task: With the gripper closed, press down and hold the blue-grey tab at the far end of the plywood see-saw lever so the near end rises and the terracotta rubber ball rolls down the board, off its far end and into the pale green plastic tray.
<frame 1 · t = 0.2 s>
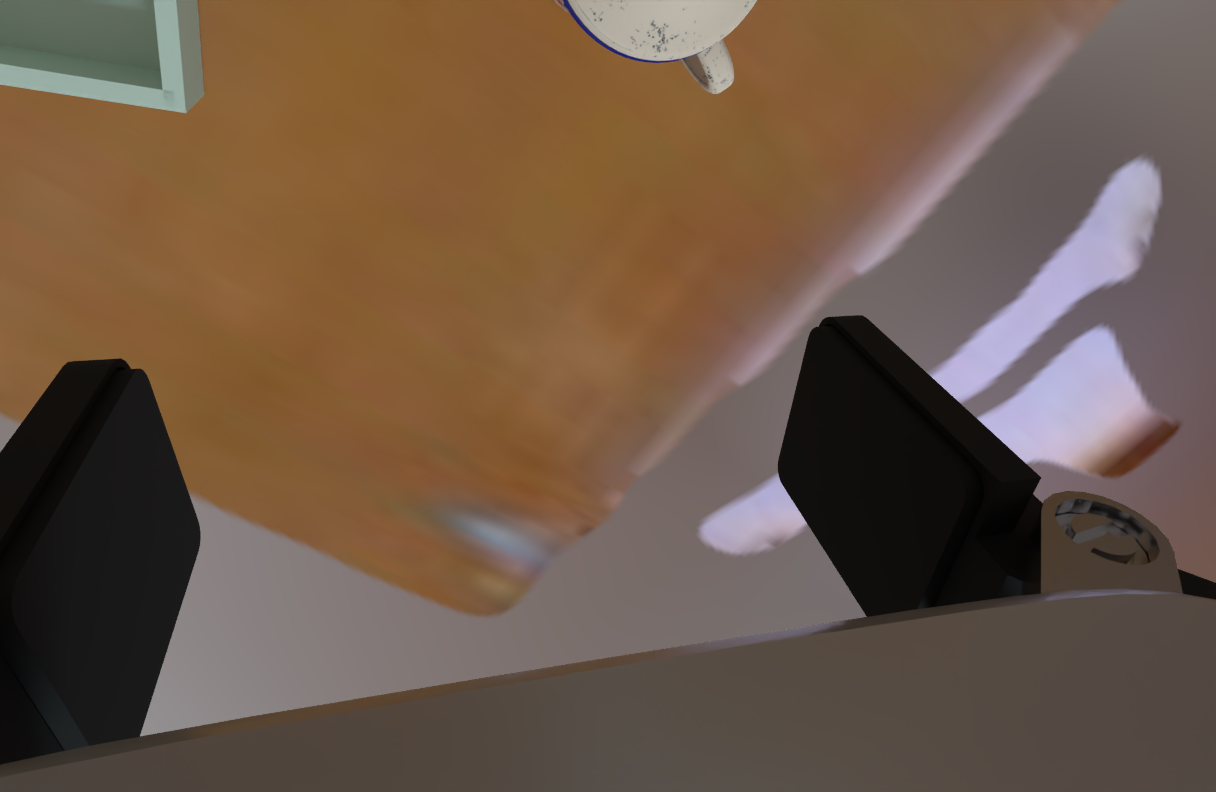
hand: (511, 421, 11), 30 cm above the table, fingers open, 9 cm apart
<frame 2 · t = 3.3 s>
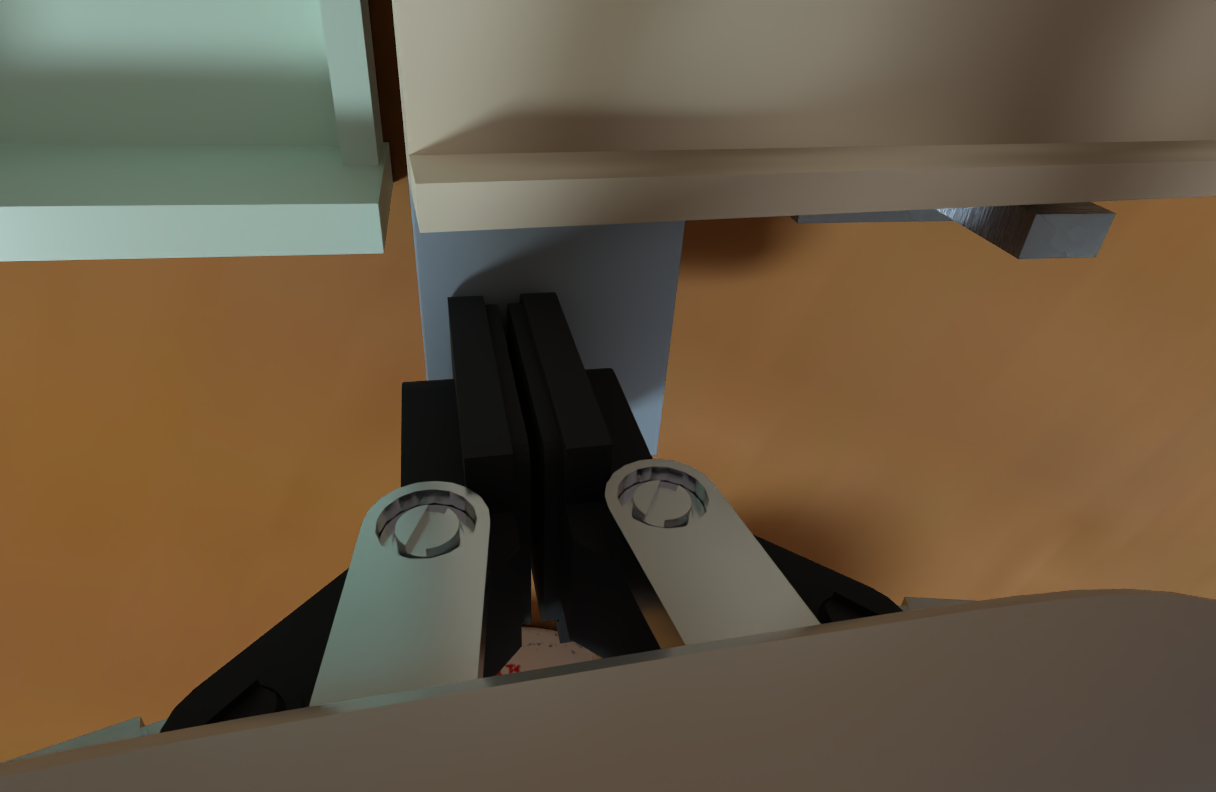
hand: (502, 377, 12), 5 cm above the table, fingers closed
teacup with lid: (465, 722, 25), on the table
lever: (1111, 90, 12), point 4 cm above the table, hinge at -4.9°, touching ball, gripper
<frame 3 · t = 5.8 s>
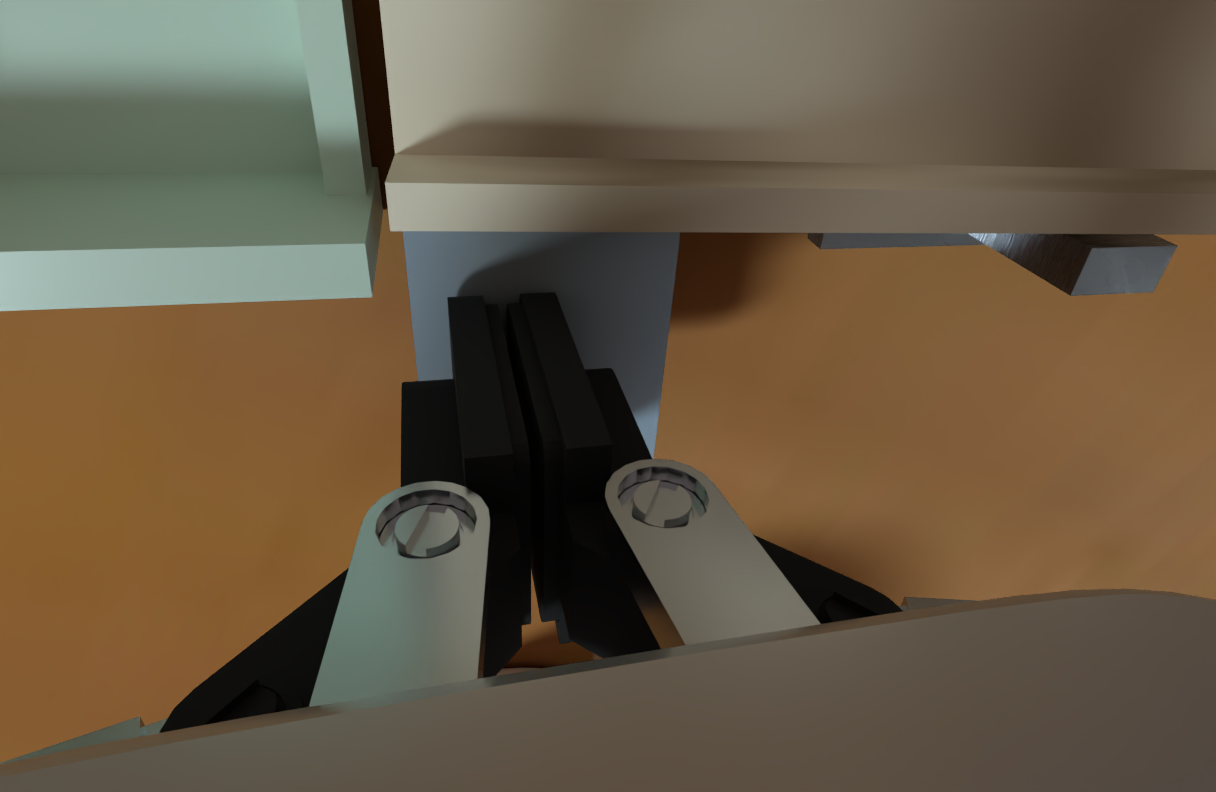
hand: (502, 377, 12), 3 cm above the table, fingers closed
lever: (1171, 112, 10), point 4 cm above the table, hinge at 3.8°, touching gripper
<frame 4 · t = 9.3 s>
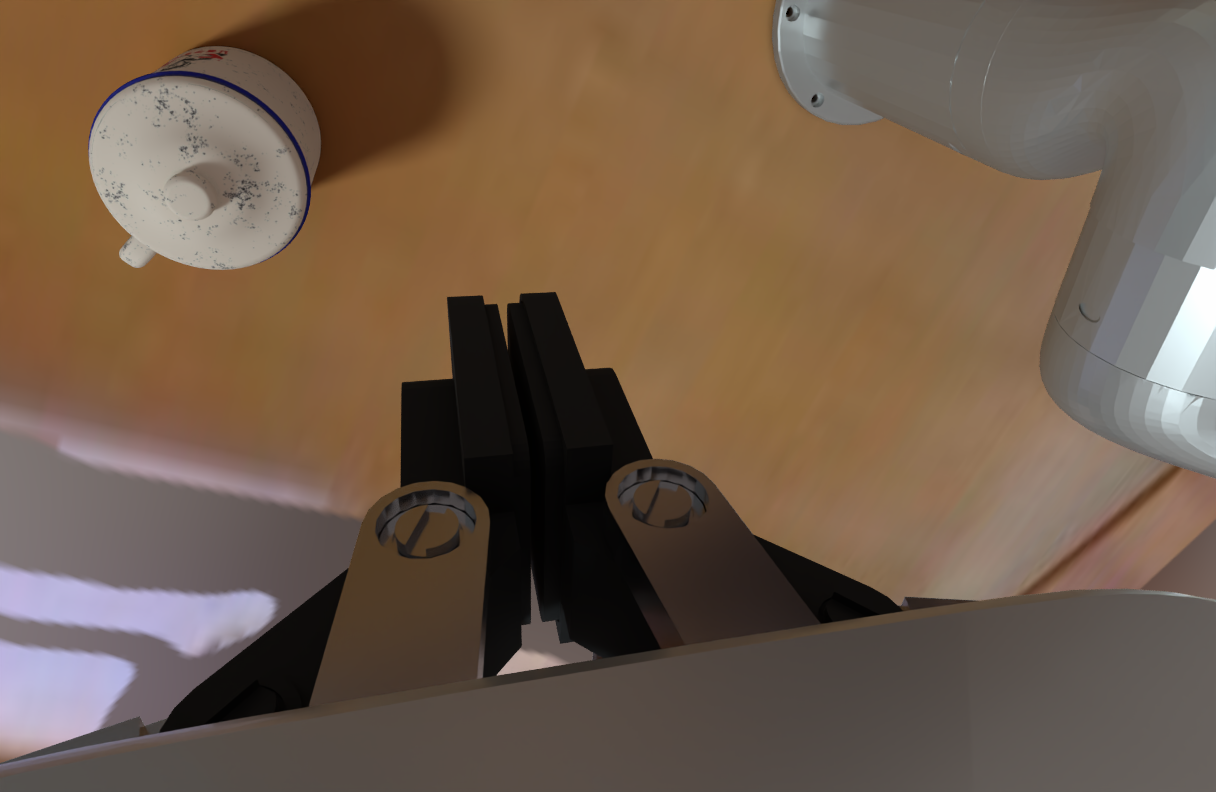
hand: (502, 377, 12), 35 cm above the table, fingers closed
teacup with lid: (223, 147, 41), on the table
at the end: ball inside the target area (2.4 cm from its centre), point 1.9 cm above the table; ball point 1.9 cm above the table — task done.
